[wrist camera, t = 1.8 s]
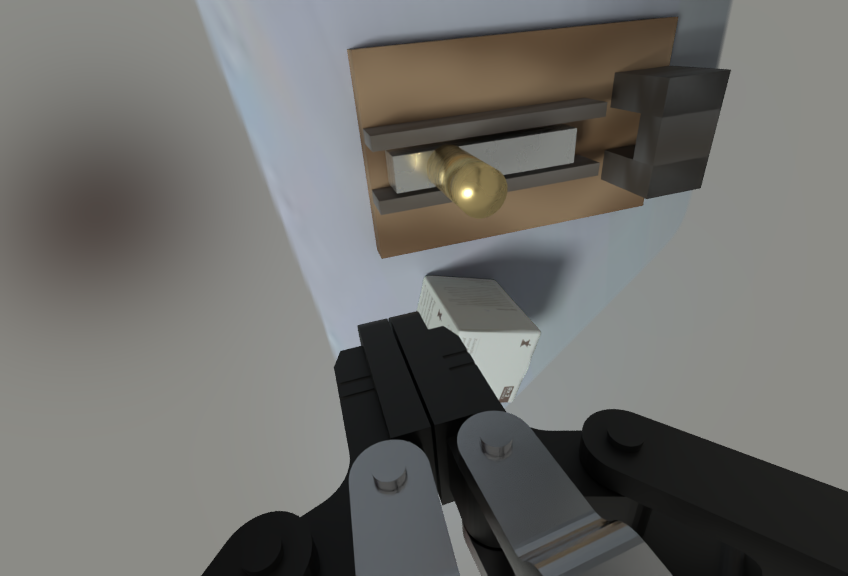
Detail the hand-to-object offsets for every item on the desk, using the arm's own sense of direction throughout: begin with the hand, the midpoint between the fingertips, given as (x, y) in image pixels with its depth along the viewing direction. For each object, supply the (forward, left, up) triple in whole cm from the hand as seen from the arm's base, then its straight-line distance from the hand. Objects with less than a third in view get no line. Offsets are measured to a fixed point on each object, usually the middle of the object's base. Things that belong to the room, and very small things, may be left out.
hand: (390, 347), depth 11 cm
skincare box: (+12, +8, -19) cm, 24 cm away
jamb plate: (0, +13, -18) cm, 22 cm away
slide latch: (0, +9, -16) cm, 19 cm away
